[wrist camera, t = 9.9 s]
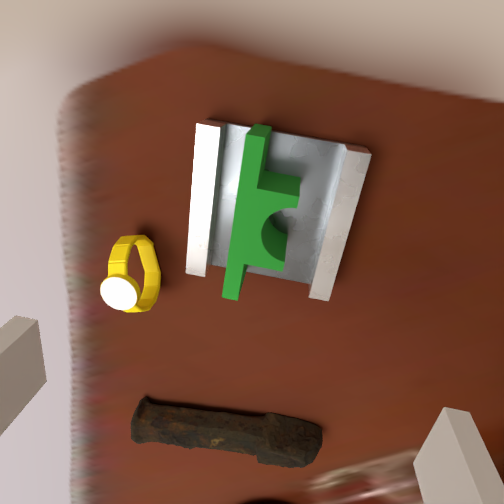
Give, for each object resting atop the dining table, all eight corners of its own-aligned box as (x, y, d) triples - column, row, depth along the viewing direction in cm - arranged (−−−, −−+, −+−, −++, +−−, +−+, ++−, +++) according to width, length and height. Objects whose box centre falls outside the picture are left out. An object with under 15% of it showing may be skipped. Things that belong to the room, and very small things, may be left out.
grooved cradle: (365, 146, 25) (371, 154, 23) (326, 282, 30) (328, 301, 28) (207, 118, 26) (196, 123, 23) (195, 256, 31) (185, 273, 28)
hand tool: (145, 417, 41) (127, 456, 37) (141, 391, 39) (122, 429, 35) (317, 441, 39) (319, 485, 35) (322, 415, 37) (324, 458, 33)
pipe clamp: (278, 275, 30) (274, 309, 26) (233, 266, 30) (221, 297, 26) (310, 132, 24) (311, 146, 20) (255, 122, 25) (244, 134, 21)
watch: (127, 226, 31) (87, 254, 25) (158, 224, 30) (125, 251, 25) (143, 291, 33) (110, 328, 27) (172, 289, 32) (145, 328, 27)
